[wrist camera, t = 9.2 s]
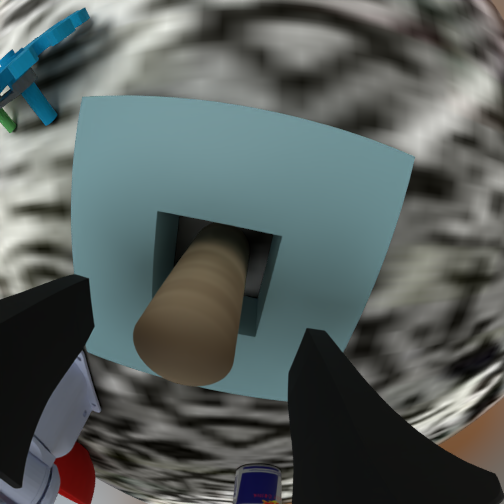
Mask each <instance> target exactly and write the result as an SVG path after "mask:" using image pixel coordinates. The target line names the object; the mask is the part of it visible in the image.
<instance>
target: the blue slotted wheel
mask: <svg viewBox="0 0 504 504" xmlns="http://www.w3.org/2000/svg"><path fill="white" fill-rule="evenodd" d="M89 18H90V17H89V15H88V13H87V11H86V9H85V8H83V9H81V10H80V11H79V10H78V11H76V12H75V13H73V14H71V15H70V16H68V17H67V18H65V19H64V20H61V21H60V22H58V23H57V24H55V25H54V26H52V27H51V28H49V29H48V30H47V31H45V32H44V33H43V34H42V35H40V36H39V37H37V38H36V39H34V40H33V41H32V42H31V43H29V44H28V45H27V46H26V47H24V48H21V49H20V50H19V51H18V52H16V53H14V51H13V49H12V50H11V51H10V52H9V53H7V54H6V55H5V56H4V57H3V58H2V59H1V60H0V65H1V67H0V93H1V92H2V91H3V89H4V88H5V87H6V86H7V85H8V86H9V87H10V90H9V91H7V92H6V93H5V94H4V95H2V96H1V95H0V122H1V124H2V125H3V126H4V127H5V128H6V129H7V131H8V132H9V133H11V132H12V131H13V130H14V129H15V127H16V124H15V123H14V122H13V121H12V119H11V118H10V117H9V116H8V115H7V113H6V112H5V111H4V110H3V108H2V107H4V106H5V105H6V104H8V103H9V102H10V101H12V100H13V99H15V98H16V97H17V96H19V95H20V94H21V95H22V96H23V97H24V99H25V100H26V101H27V103H28V104H29V105H30V107H31V108H32V109H33V110H34V112H35V113H36V114H37V116H38V117H39V118H40V119H41V121H42V122H43V123H44V124H45V126H46V125H49V124H50V123H51V122H52V121H53V120H54V119H55V118H56V117H57V113H56V112H55V110H54V109H53V108H52V106H51V105H50V104H49V102H48V101H47V99H46V98H45V97H44V95H43V94H42V93H41V91H40V90H39V88H38V87H37V85H36V84H35V83H34V81H35V80H36V79H37V76H36V74H35V73H34V71H33V70H32V68H31V66H32V65H34V64H35V63H36V62H37V61H38V60H39V58H38V55H39V54H40V53H42V52H43V51H44V50H45V49H47V48H48V47H49V46H54V45H56V44H58V43H59V42H60V41H62V40H63V39H64V38H66V37H67V36H69V35H70V34H71V33H73V32H74V31H75V30H76V29H75V28H76V27H78V26H79V25H81V24H83V23H84V22H85V21H87V20H88V19H89Z"/></svg>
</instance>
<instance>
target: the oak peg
mask: <svg viewBox="0 0 504 504" xmlns="http://www.w3.org/2000/svg"><path fill="white" fill-rule="evenodd" d="M249 255H250V246H249V242H248V240H247V238H246V236H245V235H244V233H243V232H242V231H241V230H240V229H238V228H237V227H235V226H232V225H227V224H222V223H213V224H210V225H208V226H206V227H205V228H203V229H202V230H201V231H200V232H199V234H198V235H197V236H196V238H195V239H194V240H193V242H192V243H191V245H190V246H189V247H188V249H187V250H186V251H185V253H184V254H183V256H182V257H181V258H180V260H179V261H178V263H177V264H176V265H175V267H174V268H173V270H172V271H171V273H170V274H169V275H168V277H167V278H166V280H165V281H164V283H163V284H162V286H161V287H160V288H159V290H158V291H157V293H156V294H155V296H154V297H153V299H152V300H151V302H150V303H149V305H148V306H147V308H146V309H145V311H144V312H143V314H142V315H141V317H140V318H139V320H138V321H137V323H136V325H135V327H134V331H133V342H134V346H135V349H136V351H137V353H138V355H139V357H140V358H141V360H142V361H143V362H144V363H145V364H146V365H147V366H148V367H149V368H150V369H151V370H152V371H153V372H155V373H156V374H158V375H159V376H161V377H163V378H165V379H167V380H169V381H172V382H174V383H177V384H181V385H186V386H206V385H210V384H214V383H216V382H218V381H220V380H222V379H223V378H224V377H226V376H227V375H228V373H229V372H230V371H231V369H232V367H233V363H234V357H235V350H236V343H237V336H238V330H239V323H240V316H241V309H242V302H243V296H244V289H245V282H246V275H247V268H248V262H249Z"/></svg>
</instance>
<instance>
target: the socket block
mask: <svg viewBox="0 0 504 504" xmlns="http://www.w3.org/2000/svg"><path fill="white" fill-rule="evenodd" d="M414 159H415V157H414V156H412V155H409V154H407V153H405V152H402V151H400V150H397V149H395V148H392V147H390V146H387V145H385V144H382V143H379V142H377V141H374V140H371V139H368V138H365V137H363V136H360V135H357V134H354V133H351V132H348V131H344V130H341V129H338V128H335V127H331V126H328V125H324V124H321V123H317V122H314V121H310V120H306V119H302V118H298V117H294V116H290V115H286V114H281V113H277V112H272V111H267V110H262V109H257V108H252V107H246V106H240V105H234V104H227V103H220V102H213V101H205V100H196V99H186V98H173V97H157V96H90V97H82V102H81V108H80V113H79V119H78V126H77V133H76V141H75V149H74V160H73V173H72V194H71V230H72V251H73V265H74V274H77V275H80V276H83V277H87V278H89V283H90V293H91V302H92V310H93V318H94V325H95V327H94V329H93V331H92V333H91V335H90V337H89V339H88V341H87V342H86V349H87V352H89V353H91V354H94V355H96V356H99V357H102V358H104V359H107V360H110V361H112V362H115V363H118V364H121V365H124V366H127V367H130V368H133V369H136V370H139V371H142V372H145V373H149V374H152V375H155V376H159V375H158V374H156V373H155V372H153V371H152V370H151V369H150V368H149V367H148V366H147V365H146V364H145V363H144V362H143V361H142V360H141V358H140V357H139V355H138V353H137V351H136V349H135V346H134V342H133V331H134V327H135V325H136V323H137V321H138V320H139V318H140V317H141V315H142V314H143V312H144V311H145V309H146V308H147V306H148V305H149V303H150V302H151V300H152V299H153V297H154V296H155V294H156V293H157V291H158V290H159V288H160V287H161V286H162V284H163V283H164V281H165V280H166V278H167V277H168V275H169V274H170V273H171V271H172V270H173V268H174V259H175V249H176V240H177V231H178V222H179V215H181V216H187V217H192V218H197V219H202V220H207V221H212V222H217V223H222V224H227V225H232V226H237V227H241V228H246V229H251V230H256V231H260V232H265V233H270V234H274V235H273V239H272V243H271V247H270V251H269V255H268V259H267V263H266V267H265V271H264V275H263V279H262V283H261V287H260V291H259V295H258V299H257V298H252V297H247V296H243V302H242V309H241V316H240V323H239V330H238V336H237V343H236V350H235V357H234V363H233V367H232V369H231V371H230V372H229V373H228V375H227V376H226V377H224V378H223V379H222V380H220V381H218V382H216V383H214V384H210V385H206V386H198V387H202V388H207V389H212V390H216V391H222V392H227V393H232V394H238V395H244V396H250V397H257V398H264V399H271V400H280V401H288V372H289V370H290V368H291V365H292V363H293V360H294V358H295V356H296V353H297V351H298V348H299V346H300V343H301V341H302V338H303V336H304V333H305V331H306V328H311V329H318V330H325V331H326V332H327V333H328V335H329V336H330V337H331V338H332V339H333V341H334V342H335V343H336V344H337V346H338V347H339V348H340V350H341V351H342V352H343V351H344V349H345V347H346V345H347V343H348V341H349V339H350V337H351V335H352V333H353V331H354V329H355V327H356V325H357V323H358V321H359V318H360V316H361V314H362V312H363V310H364V307H365V305H366V303H367V301H368V298H369V296H370V294H371V291H372V289H373V286H374V284H375V282H376V279H377V277H378V274H379V272H380V269H381V266H382V264H383V261H384V258H385V256H386V253H387V250H388V247H389V245H390V242H391V239H392V236H393V233H394V230H395V227H396V224H397V221H398V218H399V214H400V211H401V208H402V204H403V201H404V197H405V194H406V190H407V187H408V183H409V179H410V175H411V171H412V167H413V163H414ZM159 377H161V376H159ZM162 378H163V377H162Z"/></svg>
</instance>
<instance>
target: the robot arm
mask: <svg viewBox="0 0 504 504" xmlns="http://www.w3.org/2000/svg"><path fill="white" fill-rule="evenodd" d="M94 327H95V325H94V318H93V310H92V302H91V293H90V283H89V278H87V277H83V276H80V275H77V274H74V275H69V276H66V277H63V278H59V279H56V280H54V281H51V282H48V283H45V284H43V285H40V286H37V287H34V288H32V289H29V290H26V291H24V292H21V293H18V294H15V295H12V296H9V297H7V298H4V299H1V300H0V504H53V503H54V502H55V499H56V497H57V494H58V491H59V487H60V475H59V472H58V468H57V466H56V465H55V464H54V461H55V459H56V458H59V457H62V456H64V455H66V454H67V453H69V452H70V451H71V449H72V448H73V446H74V444H75V442H76V440H77V438H78V436H79V434H80V432H81V430H82V428H83V426H84V424H85V422H86V421H87V419H88V417H89V415H90V413H91V411H92V410H93V411H95V412H98V413H100V411H101V408H100V405H99V402H98V399H97V396H96V393H95V390H94V386H93V383H92V380H91V376H90V373H89V369H88V366H87V362H86V358H85V354H84V352H83V350H82V349H83V348H84V346H85V344H86V342H87V341H88V339H89V337H90V335H91V333H92V331H93V329H94ZM288 410H289V420H290V430H291V440H292V450H293V465H294V473H293V495H292V504H499V503H501V502H502V501H503V499H504V493H503V491H502V488H501V485H500V483H499V480H498V478H497V476H496V474H495V473H492V472H489V471H487V470H484V469H482V468H479V467H477V466H475V465H472V464H470V463H467V462H466V461H464V460H462V459H460V458H458V457H456V456H455V455H453V454H451V453H449V452H447V451H445V450H444V449H443V448H441V447H440V446H438V445H436V444H435V443H434V442H432V441H431V440H429V439H428V438H427V437H425V436H424V435H423V434H421V433H420V432H418V431H417V430H416V429H415V428H413V427H412V426H411V425H410V424H409V423H407V422H406V421H405V420H404V419H403V418H402V417H401V416H400V415H399V414H397V413H396V412H395V411H394V410H393V409H392V408H391V407H390V406H389V405H388V404H387V403H386V402H385V401H384V400H383V399H382V398H381V397H380V396H379V395H378V394H377V392H376V391H375V390H374V389H373V388H372V387H371V386H370V385H369V384H368V383H367V381H366V380H365V379H364V378H363V377H362V376H361V374H360V373H359V372H358V371H357V370H356V368H355V367H354V366H353V365H352V363H351V362H350V361H349V360H348V358H347V357H346V356H345V355H344V353H343V352H342V351H341V350H340V348H339V347H338V346H337V344H336V343H335V342H334V341H333V339H332V338H331V337H330V336H329V335H328V333H327V332H326V331H325V330H318V329H311V328H306V331H305V333H304V336H303V338H302V341H301V343H300V346H299V348H298V351H297V353H296V356H295V358H294V360H293V363H292V365H291V368H290V370H289V372H288Z"/></svg>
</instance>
